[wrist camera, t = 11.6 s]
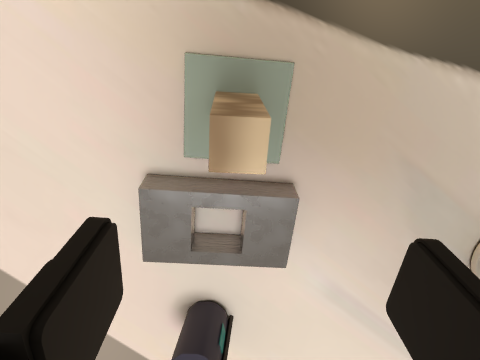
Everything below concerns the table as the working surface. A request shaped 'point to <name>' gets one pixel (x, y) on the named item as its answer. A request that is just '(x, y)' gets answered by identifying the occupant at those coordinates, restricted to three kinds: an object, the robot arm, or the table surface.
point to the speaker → (204, 333)
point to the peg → (238, 133)
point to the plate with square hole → (223, 197)
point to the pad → (233, 80)
